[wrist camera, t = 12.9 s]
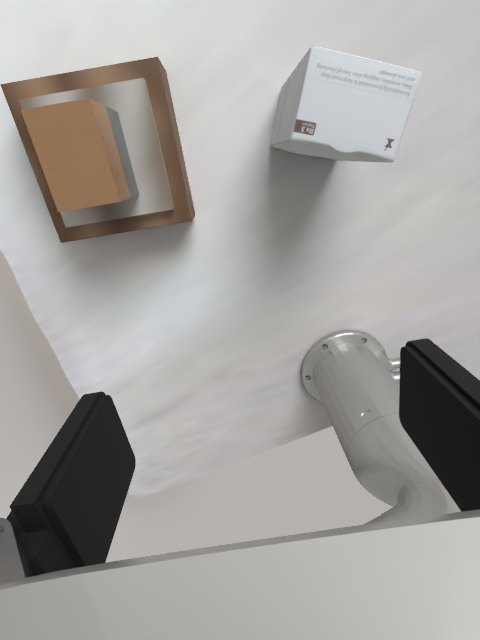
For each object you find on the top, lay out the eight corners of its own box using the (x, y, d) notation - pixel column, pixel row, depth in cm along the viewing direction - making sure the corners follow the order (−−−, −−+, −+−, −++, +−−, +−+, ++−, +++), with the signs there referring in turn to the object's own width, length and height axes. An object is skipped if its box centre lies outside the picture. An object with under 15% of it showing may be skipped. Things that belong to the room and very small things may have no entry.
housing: (117, 111, 30) (90, 97, 24) (139, 194, 33) (120, 201, 27) (62, 121, 30) (20, 109, 24) (89, 202, 33) (58, 212, 27)
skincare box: (353, 103, 36) (433, 66, 22) (336, 164, 38) (400, 164, 25) (277, 85, 35) (313, 36, 21) (265, 149, 37) (290, 141, 24)
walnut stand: (165, 71, 34) (155, 53, 28) (195, 214, 40) (191, 222, 34) (29, 95, 34) (-7, 81, 28) (79, 233, 40) (57, 244, 34)
